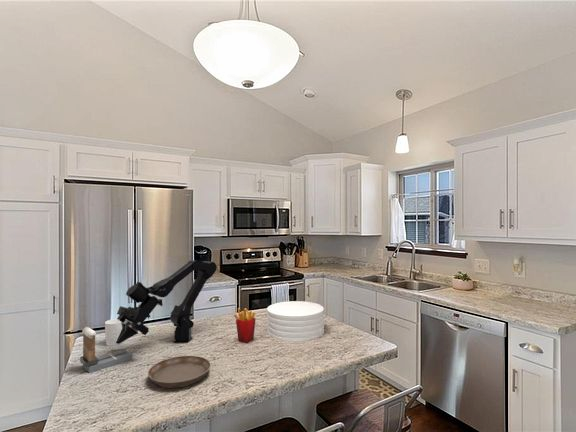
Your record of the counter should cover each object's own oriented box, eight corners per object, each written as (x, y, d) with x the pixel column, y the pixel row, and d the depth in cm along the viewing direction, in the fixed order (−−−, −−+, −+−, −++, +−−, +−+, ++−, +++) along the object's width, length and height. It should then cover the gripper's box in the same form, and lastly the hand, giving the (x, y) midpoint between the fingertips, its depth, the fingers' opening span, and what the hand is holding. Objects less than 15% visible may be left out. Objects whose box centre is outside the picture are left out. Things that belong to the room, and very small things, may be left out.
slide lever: (92, 358, 121) (92, 325, 121) (98, 363, 116) (98, 329, 117) (80, 361, 118) (80, 328, 118) (85, 367, 113) (85, 332, 114)
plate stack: (333, 327, 161) (333, 305, 161) (306, 346, 137) (306, 319, 137) (287, 319, 176) (286, 298, 176) (255, 334, 152) (255, 310, 152)
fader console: (124, 354, 130) (124, 348, 130) (132, 359, 125) (132, 354, 125) (82, 366, 119) (82, 360, 119) (89, 372, 114) (89, 367, 114)
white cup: (104, 348, 137) (104, 324, 137) (105, 342, 144) (105, 320, 144) (124, 344, 141) (124, 322, 141) (124, 339, 148) (124, 317, 148)
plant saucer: (219, 365, 119) (219, 356, 119) (193, 394, 98) (192, 384, 98) (169, 362, 123) (169, 353, 123) (134, 389, 102) (134, 379, 102)
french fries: (245, 336, 149) (245, 304, 149) (259, 340, 144) (258, 307, 144) (232, 342, 141) (231, 309, 142) (246, 346, 137) (245, 311, 137)
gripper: (121, 294, 135) (93, 327, 127) (140, 301, 122) (109, 338, 114) (141, 309, 141) (114, 341, 132) (160, 317, 128) (132, 353, 120)
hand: (117, 343), depth 124 cm, fingers closed
